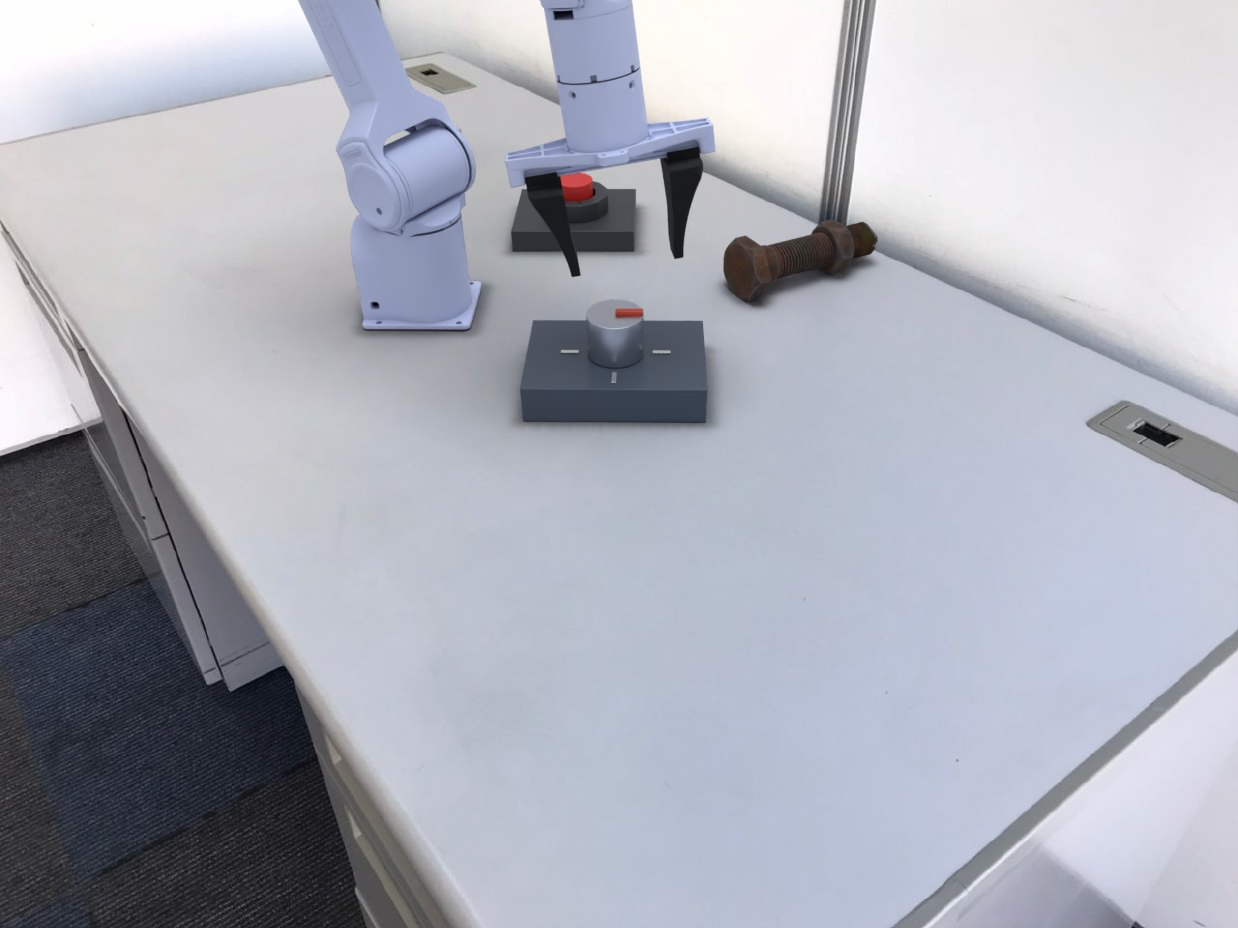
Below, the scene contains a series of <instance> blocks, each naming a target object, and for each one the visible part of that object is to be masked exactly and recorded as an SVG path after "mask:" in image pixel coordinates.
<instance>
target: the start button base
mask: <svg viewBox="0 0 1238 928" xmlns="http://www.w3.org/2000/svg"><path fill="white" fill-rule="evenodd" d="M565 205H566V211H567V216H568V221H569V226H570V229H571V233H572V237H573V240H574V244H575V248H576V251H577V253H578V252H581V253H582V252H584V253H585V252H587V253H588V252H589V253H590V252H593V253H594V252H597V253H598V252H599V253H601V252H602V253H603V252H604V253H605V252H608V253H609V252H610V253H611V252H612V253H613V252H614V253H615V252H616V253H617V252H618V253H619V252H620V253H621V252H622V253H623V252H625V253H626V252H629V253H632V252H635V247H636V246H635V243H636V242H635V241H636V219H637V189H636V188H607V187H606V186H605V185H604V184H602V183H600V182H598V181H595V180H593V197H591V198H590V199H587V200H582V201H565ZM510 235H511V236H510V237H511V247H512V252H516V253H517V252H519V253H520V252H524V253H525V252H530V253H531V252H535V253H537V252H538V253H539V252H547V253H548V252H552V253H553V252H560V253H561V252H562V250H561V248H560V246H559V244H558V242H557V240H556V238H555V237H554V235H553V233H552V232H551V230H550V229H549V227H548V226H547V224H546V223H545V221H544V220H543V219H542V217H541V216H540V215H539V213H538V212H537V211H536V210H535V208H534V207H533V205H532V204H531V202H530V200H529V198H528V192H527V188H522V189H521V191H520V196H519V199H518V203H517V207H516V211H515V215H514V219H513V222H512V227H511V230H510ZM562 253H563V252H562Z"/></svg>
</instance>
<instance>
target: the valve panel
mask: <svg viewBox="0 0 1238 928" xmlns="http://www.w3.org/2000/svg"><path fill="white" fill-rule="evenodd" d="M704 330H705V329H704V321H703V320H644V354H643V356H642V358H641V359H640V360H639V361H638V362H636V363H635V364H632V365H630V366H626V367H620V368H610V367H604V366H600V365H598V364H596V363H594V362H593V361H592V360H591V359H590V358H589V356H588V350H587V325H586V319H581V320H580V319H578V320H577V319H576V320H575V319H571V320H569V319H562V320H561V319H533V320H532V325H531V330H530V336H529V340H528V346H527V350H526V355H525V361H524V366H523V372H522V378H521V382H520V388H519V392H520V405H521V415H522V421H523V422H610V423H611V422H627V423H629V422H631V423H634V422H636V423H638V422H639V423H640V422H641V423H706V422H707V408H708V407H707V406H708V378H707V377H708V376H707V363H706V347H705V333H704Z"/></svg>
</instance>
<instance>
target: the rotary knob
mask: <svg viewBox="0 0 1238 928" xmlns="http://www.w3.org/2000/svg"><path fill="white" fill-rule="evenodd" d="M585 320H586V325H587V350H588V356H589V358H590V359H591V360H592V361H593V362H594V363H596V364H598V365H600V366H604V367H610V368H620V367H626V366H630V365H632V364H635V363H636V362H638V361H639V360H640V359H641V358H642V356H643V354H644V321H645V313H644V308H642V307H641V305H639V304H637V303H635V302H633V301H630V300H625V299H606V300H602V301H599V302H595V303H594V304H592V305H591V306H590V307H589V308H588V309H587V310H586V313H585Z"/></svg>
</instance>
